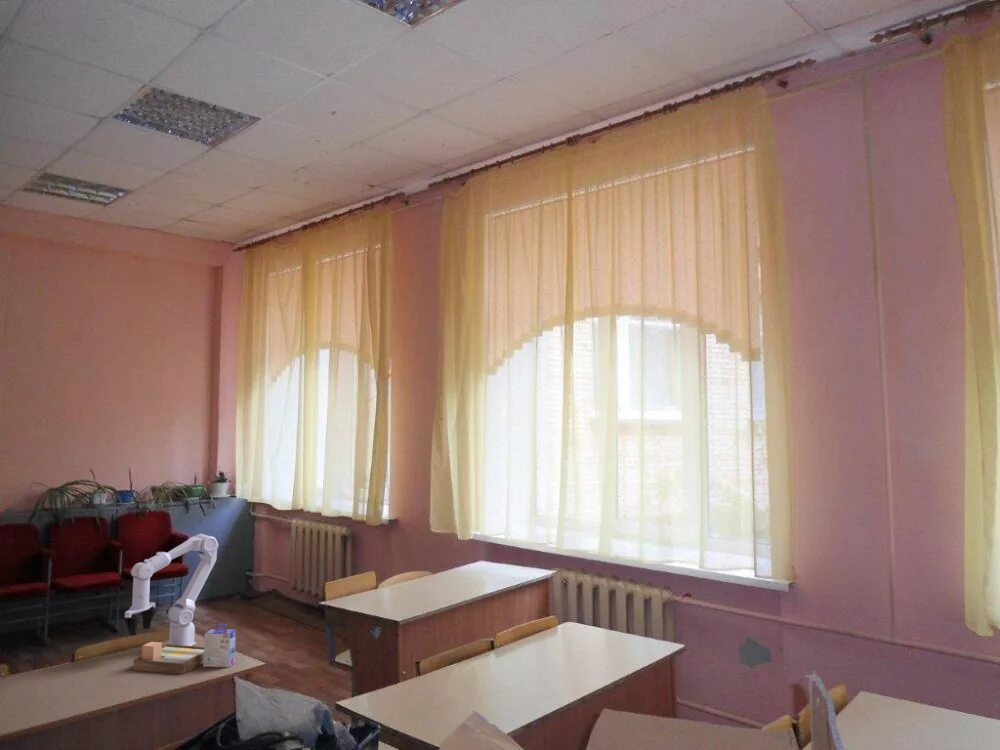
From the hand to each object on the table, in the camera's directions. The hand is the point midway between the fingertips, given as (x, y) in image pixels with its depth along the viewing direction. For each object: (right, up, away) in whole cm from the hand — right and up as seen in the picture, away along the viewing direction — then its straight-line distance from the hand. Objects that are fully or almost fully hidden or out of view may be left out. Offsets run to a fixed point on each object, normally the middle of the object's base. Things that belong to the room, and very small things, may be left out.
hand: (139, 631), depth 264 cm
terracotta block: (+9, -8, -10) cm, 16 cm away
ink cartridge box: (+33, -10, -8) cm, 35 cm away
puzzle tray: (+16, -9, -7) cm, 20 cm away
